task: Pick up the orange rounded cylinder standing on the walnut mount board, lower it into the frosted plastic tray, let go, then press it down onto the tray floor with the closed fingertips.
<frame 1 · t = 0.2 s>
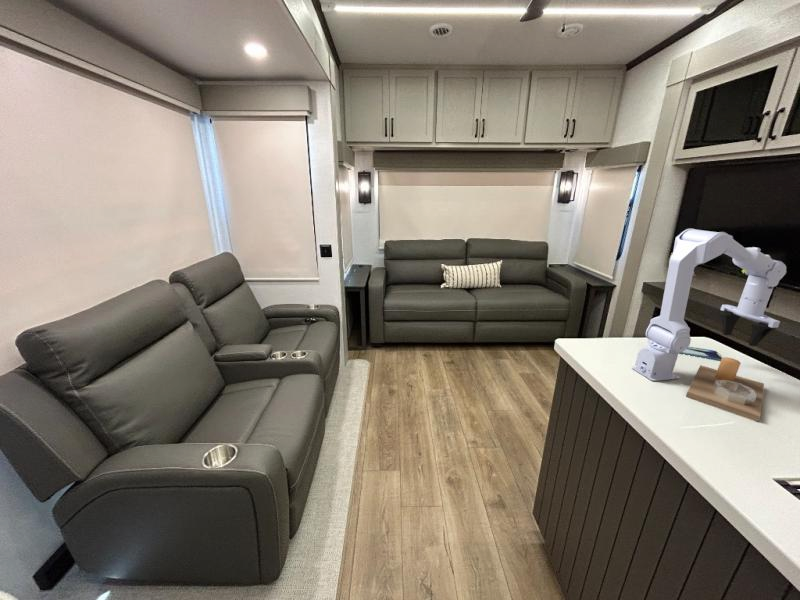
hand: (739, 339, 103), 10 cm above the worktop, tool pointing down, fingers open, 7 cm apart
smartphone: (691, 353, 117), on the worktop
mount board: (724, 392, 94), on the worktop
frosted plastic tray: (730, 400, 90), resting on mount board
orange rounded cylinder: (724, 378, 98), point 2 cm above the worktop, touching mount board
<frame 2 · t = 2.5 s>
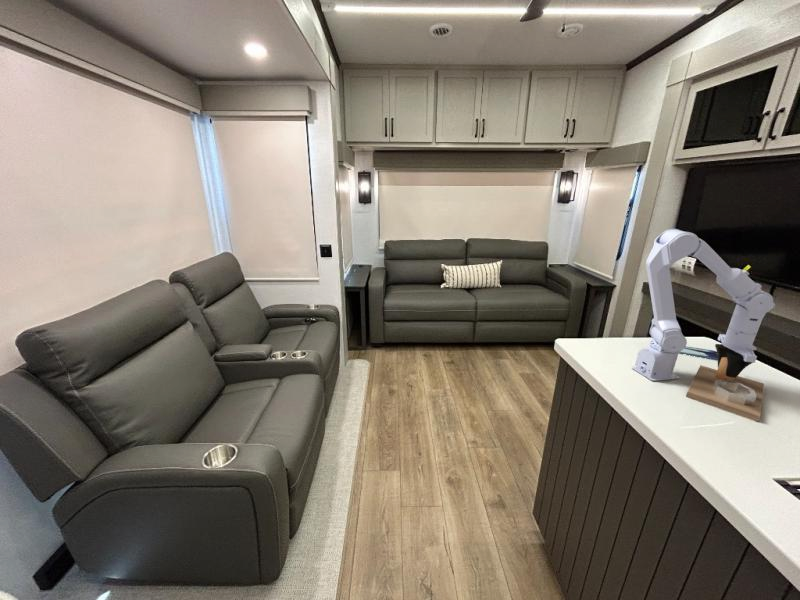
hand: (726, 372, 97), 4 cm above the worktop, tool pointing down, fingers closed on orange rounded cylinder, 4 cm apart
orange rounded cylinder: (724, 378, 98), point 2 cm above the worktop, touching gripper, mount board
everything else where it was.
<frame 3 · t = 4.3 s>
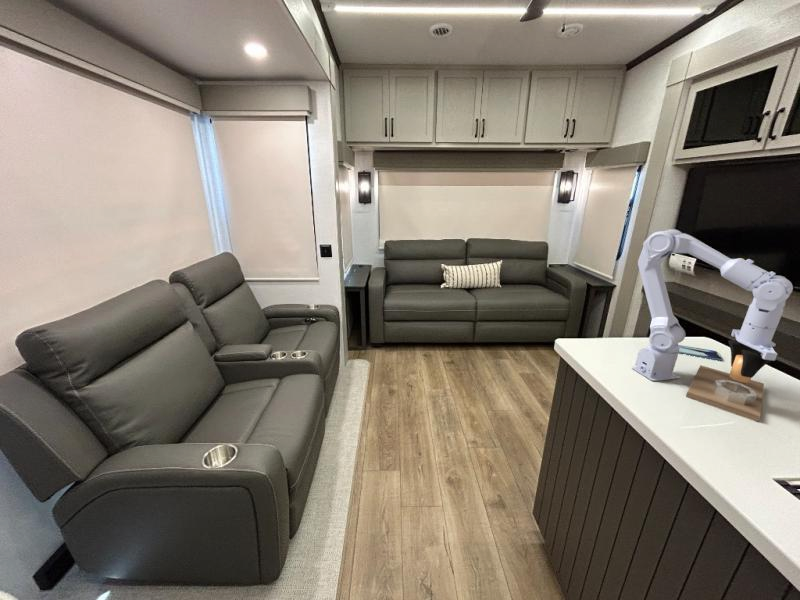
hand: (741, 371, 87), 9 cm above the worktop, tool pointing down, fingers closed on orange rounded cylinder, 4 cm apart
orange rounded cylinder: (739, 378, 88), point 7 cm above the worktop, touching gripper
everything else where it was.
when the fingers open (5 cm above the worktop, at t = 6.4 s): orange rounded cylinder drops 1 cm, resting on mount board.
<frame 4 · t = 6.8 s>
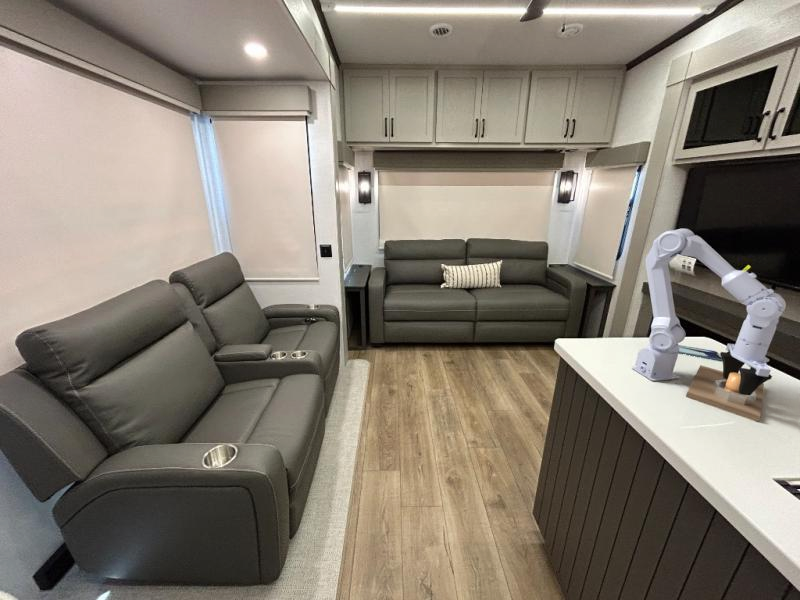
hand: (735, 386, 89), 5 cm above the worktop, tool pointing down, fingers open, 7 cm apart
orange rounded cylinder: (732, 395, 89), point 2 cm above the worktop, touching mount board
everything else where it was.
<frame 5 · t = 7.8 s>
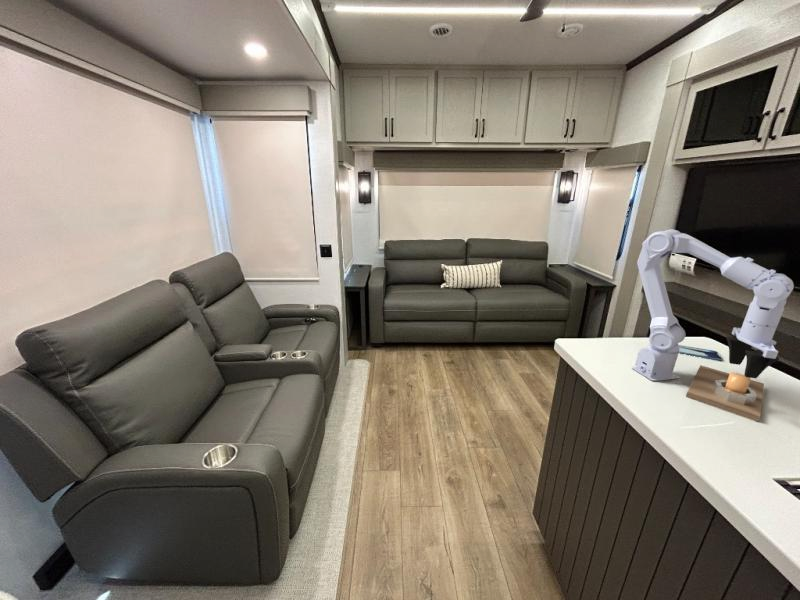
hand: (742, 370, 87), 9 cm above the worktop, tool pointing down, fingers open, 7 cm apart
nothing on the worktop moved.
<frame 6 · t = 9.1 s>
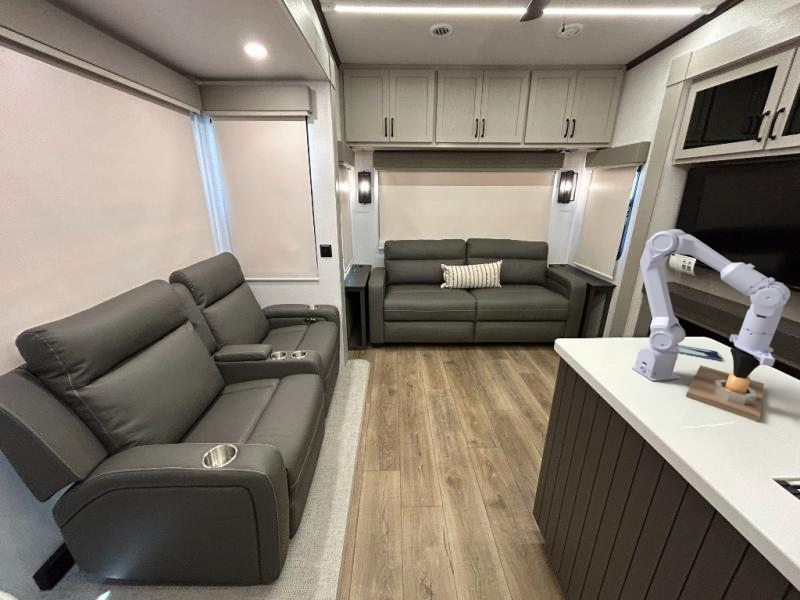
hand: (739, 376, 88), 7 cm above the worktop, tool pointing down, fingers closed, pressing on orange rounded cylinder
orange rounded cylinder: (732, 395, 89), point 1 cm above the worktop, touching gripper, mount board
everything else where it was.
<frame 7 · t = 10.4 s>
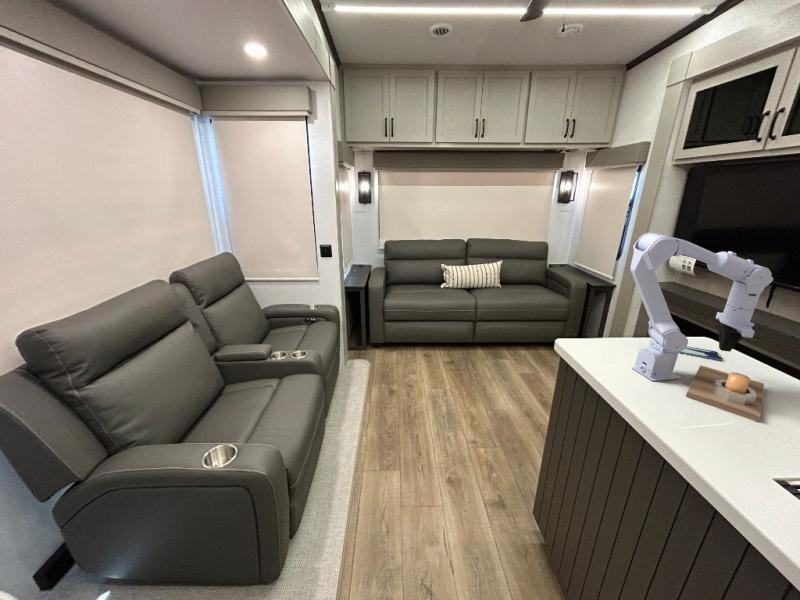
hand: (724, 350, 97), 10 cm above the worktop, tool pointing down, fingers closed
orange rounded cylinder: (732, 395, 89), point 2 cm above the worktop, touching mount board
everything else where it was.
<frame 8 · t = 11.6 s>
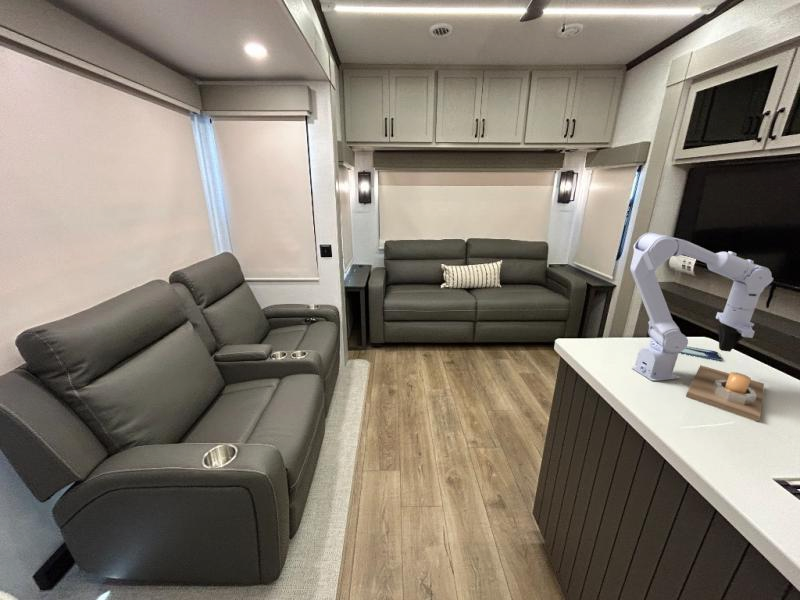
hand: (724, 350, 97), 10 cm above the worktop, tool pointing down, fingers closed
nothing on the worktop moved.
at the end: orange rounded cylinder 0.1 cm off-centre on the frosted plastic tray, point 1.6 cm above the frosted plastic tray's base; orange rounded cylinder tilted 2°; the gripper is holding nothing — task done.
